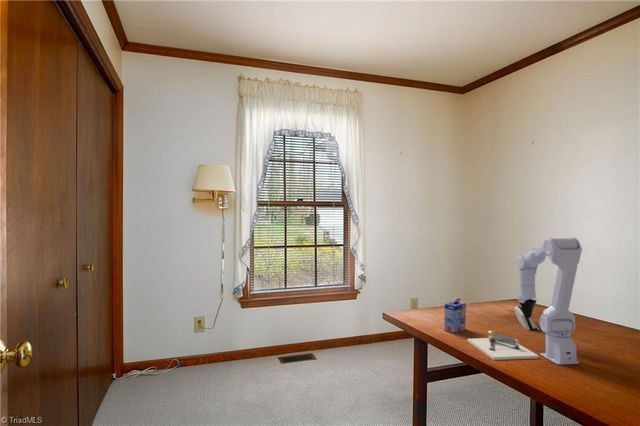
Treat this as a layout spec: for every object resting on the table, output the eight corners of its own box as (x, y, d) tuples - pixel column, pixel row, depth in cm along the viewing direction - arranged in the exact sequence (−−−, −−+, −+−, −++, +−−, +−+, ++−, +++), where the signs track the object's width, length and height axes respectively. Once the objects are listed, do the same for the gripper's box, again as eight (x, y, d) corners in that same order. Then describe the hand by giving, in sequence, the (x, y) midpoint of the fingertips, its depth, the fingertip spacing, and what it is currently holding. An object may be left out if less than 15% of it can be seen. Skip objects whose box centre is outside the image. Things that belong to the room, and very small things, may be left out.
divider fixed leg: (490, 341, 149) (490, 338, 149) (494, 342, 149) (494, 339, 149) (489, 349, 140) (489, 346, 140) (493, 350, 140) (493, 347, 140)
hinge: (539, 330, 166) (531, 309, 166) (528, 333, 167) (520, 312, 168) (529, 320, 182) (521, 300, 183) (519, 323, 183) (511, 303, 184)
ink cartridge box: (455, 333, 163) (454, 300, 163) (443, 330, 167) (443, 298, 167) (466, 329, 169) (466, 297, 169) (455, 326, 173) (455, 295, 173)
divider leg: (486, 339, 150) (486, 331, 150) (490, 338, 152) (490, 329, 152) (516, 348, 140) (516, 339, 140) (521, 346, 141) (520, 337, 141)
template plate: (538, 358, 134) (538, 353, 134) (493, 359, 133) (493, 355, 133) (507, 339, 154) (506, 335, 154) (467, 341, 153) (467, 337, 153)
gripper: (523, 281, 162) (523, 312, 161) (510, 285, 152) (510, 318, 152) (541, 283, 156) (541, 315, 156) (529, 288, 147) (529, 322, 146)
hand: (527, 317), depth 154 cm, fingers closed
